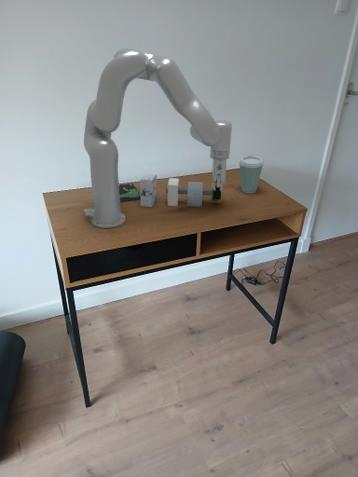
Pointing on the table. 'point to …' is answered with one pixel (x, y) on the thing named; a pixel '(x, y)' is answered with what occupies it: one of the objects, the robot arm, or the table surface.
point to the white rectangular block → (173, 192)
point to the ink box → (148, 189)
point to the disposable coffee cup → (250, 173)
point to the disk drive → (128, 193)
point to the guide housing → (195, 194)
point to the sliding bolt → (204, 192)
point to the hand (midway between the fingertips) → (216, 196)
